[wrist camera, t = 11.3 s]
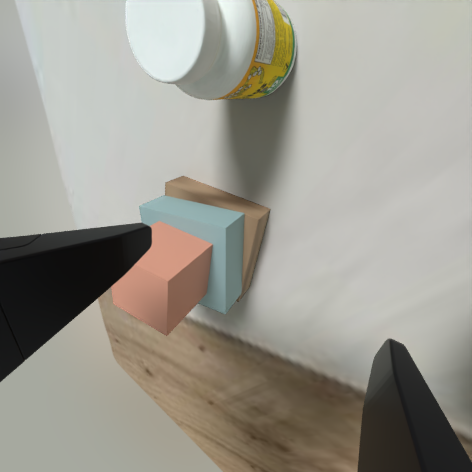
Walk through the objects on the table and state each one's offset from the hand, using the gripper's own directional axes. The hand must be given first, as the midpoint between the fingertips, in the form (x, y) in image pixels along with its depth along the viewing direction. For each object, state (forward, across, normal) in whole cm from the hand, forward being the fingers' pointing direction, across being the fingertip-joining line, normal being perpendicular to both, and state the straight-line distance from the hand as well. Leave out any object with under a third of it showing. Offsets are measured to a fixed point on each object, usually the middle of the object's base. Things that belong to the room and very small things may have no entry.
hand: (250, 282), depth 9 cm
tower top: (+10, +8, +8) cm, 15 cm away
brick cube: (+8, +8, +8) cm, 13 cm away
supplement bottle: (+13, +7, -7) cm, 17 cm away
